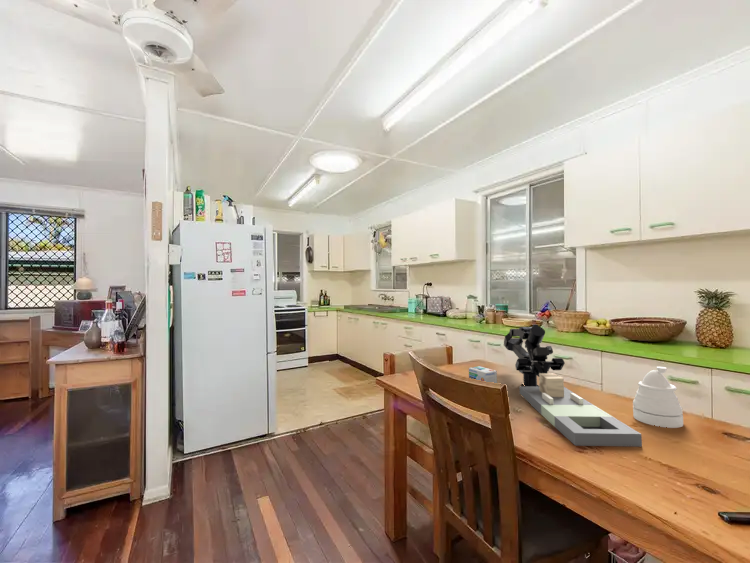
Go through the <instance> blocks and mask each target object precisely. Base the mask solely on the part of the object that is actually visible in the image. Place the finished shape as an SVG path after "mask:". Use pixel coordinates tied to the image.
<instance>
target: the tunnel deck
mask: <svg viewBox="0 0 750 563" xmlns="http://www.w3.org/2000/svg"><path fill="white" fill-rule="evenodd" d="M520 394H521V395H522V396H523V397H524V398H525V399H526V400H527V401H528V402H529V403H530V404H531V405H530V404H529V403H528V402H527V401H526V400H525V399H524V398H523V397H522V396H521V395H520ZM519 395H520V396H521V397H522V398H523V399H524V400H525V401H526V402H527V403H528V404H529V405H530V406H531V407H533V408H534V409H535V410H536V411H537V412H538V413H539V414H540V415H541V416H542V417H543V418H544V419H546V420H547V421H548V422H549V423H550V424H551V425H552V426H553V427H555V429H556V430H558V431H559V433H561V434H562V435H563V436H564V437H565V438H566V439H568V441H570V442H571V444H573V445H574V446H576V447H577V446H578V447H579V446H587V447H588V446H590V447H591V446H593V447H596V446H597V447H641V448H642V447H643V442H642V441H643V440H642V433H641V432H639V431H637V430H636V429H634V428H632V427H630V426H629V425H627V424H626V423H624V422H622V421H621V420H620V419H617V418H616V417H614V416H613V415H611V414H609V413H608V412H606V410H605V411H604V410H603V409H601V408H599V407H598V406H596V405H595V404H593V403H591V402H589V401H588V400H586V399H585V398H583V397H581V396H580V395H578V394H577V393H575V392H573V391H572V390H570V389H568V388H567V387H565V386H564V397H550V396H549V395H548V394H546V393H542V392H541V391H540V387H539V386H523V385H522V386H519Z"/></svg>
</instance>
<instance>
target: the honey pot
mask: <svg viewBox="0 0 750 563" xmlns="http://www.w3.org/2000/svg"><path fill="white" fill-rule="evenodd" d="M667 369H668V368H667V367H666V366H656V369H652V370H649V371H648V372H647V373H646V374H645V375H644V376H643V378H642V381H641V380H640V381H639V382H638V383H637V385H638V388H637V390H636V392H635V393H636V394H635V396H634V399H633V400H632V412H633V413H632V414H633V418H634V419H635V420H637V421H638V422H641V423H643V424H646V425H650V426H654V425H655V426H654V427H659V426H660V428H666V427H667V428H668V429H677V428H681V427H684V415H683V413H684V412H683V411H684V410H683V407H682V406H681V404H680V400H678V399H679V397H678V396H677V394H676V393H675V391H677V390H678V388H677V386H675V385H674V384H671V383H670V382H669V380H668V378H667V377H666V376H665V375H664V374H665V373H666V372H667Z"/></svg>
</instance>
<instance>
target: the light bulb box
mask: <svg viewBox="0 0 750 563" xmlns="http://www.w3.org/2000/svg"><path fill="white" fill-rule="evenodd" d="M469 378H471V379H476V380H481V381H486V382H494V383H497V384H498V372H497V370H495V369H491V368H488V367H483V366H480V365H479V366H473V367H468V379H469Z"/></svg>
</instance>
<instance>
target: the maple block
mask: <svg viewBox="0 0 750 563" xmlns="http://www.w3.org/2000/svg"><path fill="white" fill-rule="evenodd" d="M538 383H539V387H540V391H541V392H542V393H546V394H548V395H549V396H550V397H564V387H565V384H564V383H565V381H564V377H562V376H560V375H558V374H556V373H552V372H551V373H550V372H547V373H539V377H538Z"/></svg>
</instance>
